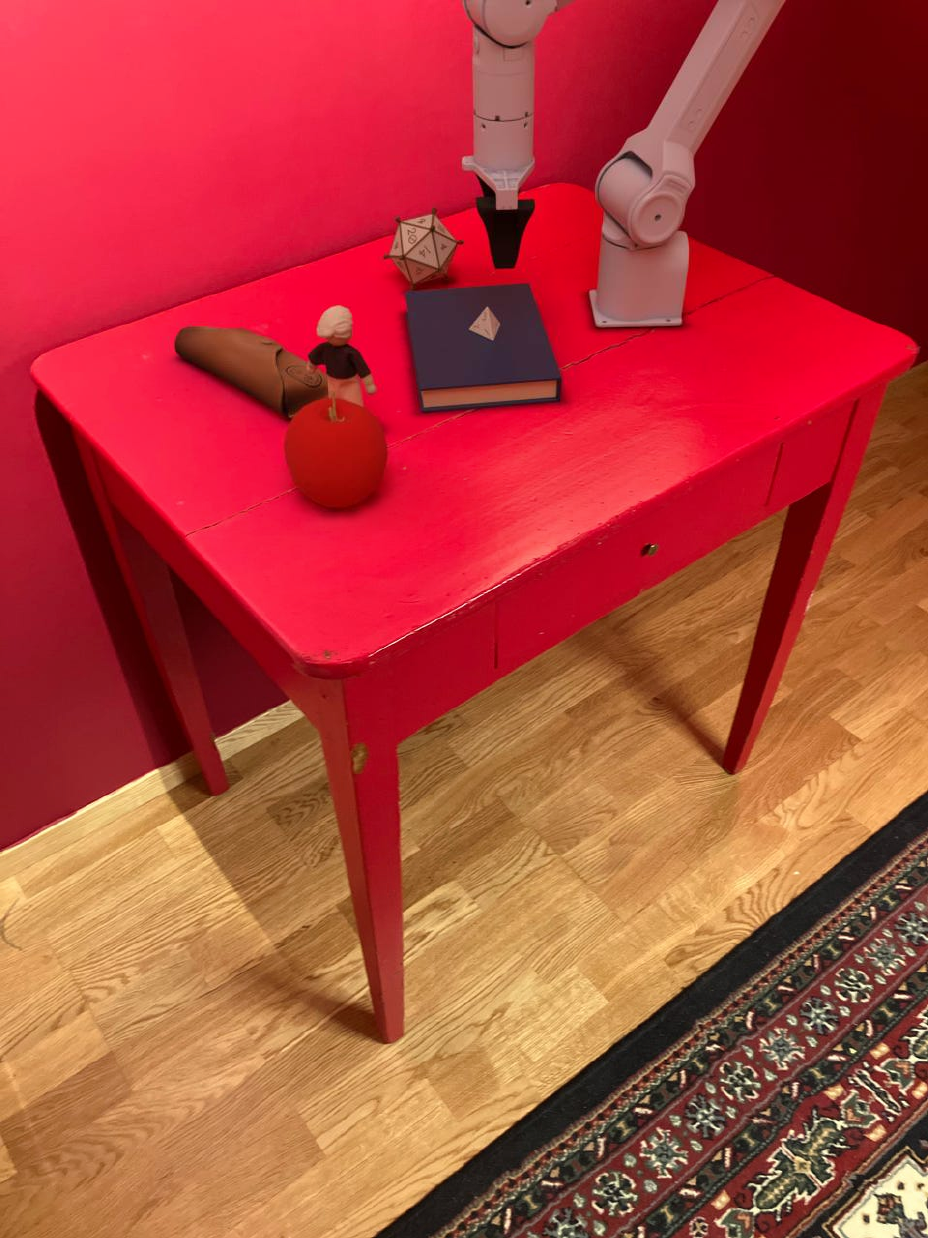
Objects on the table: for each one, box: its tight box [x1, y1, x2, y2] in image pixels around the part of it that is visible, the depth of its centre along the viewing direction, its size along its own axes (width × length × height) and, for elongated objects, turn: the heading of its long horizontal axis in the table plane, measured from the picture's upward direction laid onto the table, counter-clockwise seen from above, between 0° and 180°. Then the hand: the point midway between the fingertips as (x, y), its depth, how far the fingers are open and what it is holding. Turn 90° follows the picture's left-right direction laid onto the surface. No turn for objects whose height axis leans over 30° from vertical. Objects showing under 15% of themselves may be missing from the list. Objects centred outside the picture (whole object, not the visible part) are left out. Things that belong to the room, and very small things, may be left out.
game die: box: [381, 205, 466, 291], centre depth 118 cm, size 9×8×10 cm
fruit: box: [283, 390, 389, 508], centre depth 89 cm, size 9×9×10 cm
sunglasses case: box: [173, 325, 329, 420], centre depth 105 cm, size 18×7×7 cm
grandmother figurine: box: [306, 305, 378, 408], centre depth 95 cm, size 8×4×13 cm, turn 71°
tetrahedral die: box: [469, 307, 500, 341], centre depth 106 cm, size 4×3×3 cm
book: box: [404, 282, 563, 414], centre depth 108 cm, size 14×20×3 cm
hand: (502, 250), depth 105 cm, fingers open, 7 cm apart
